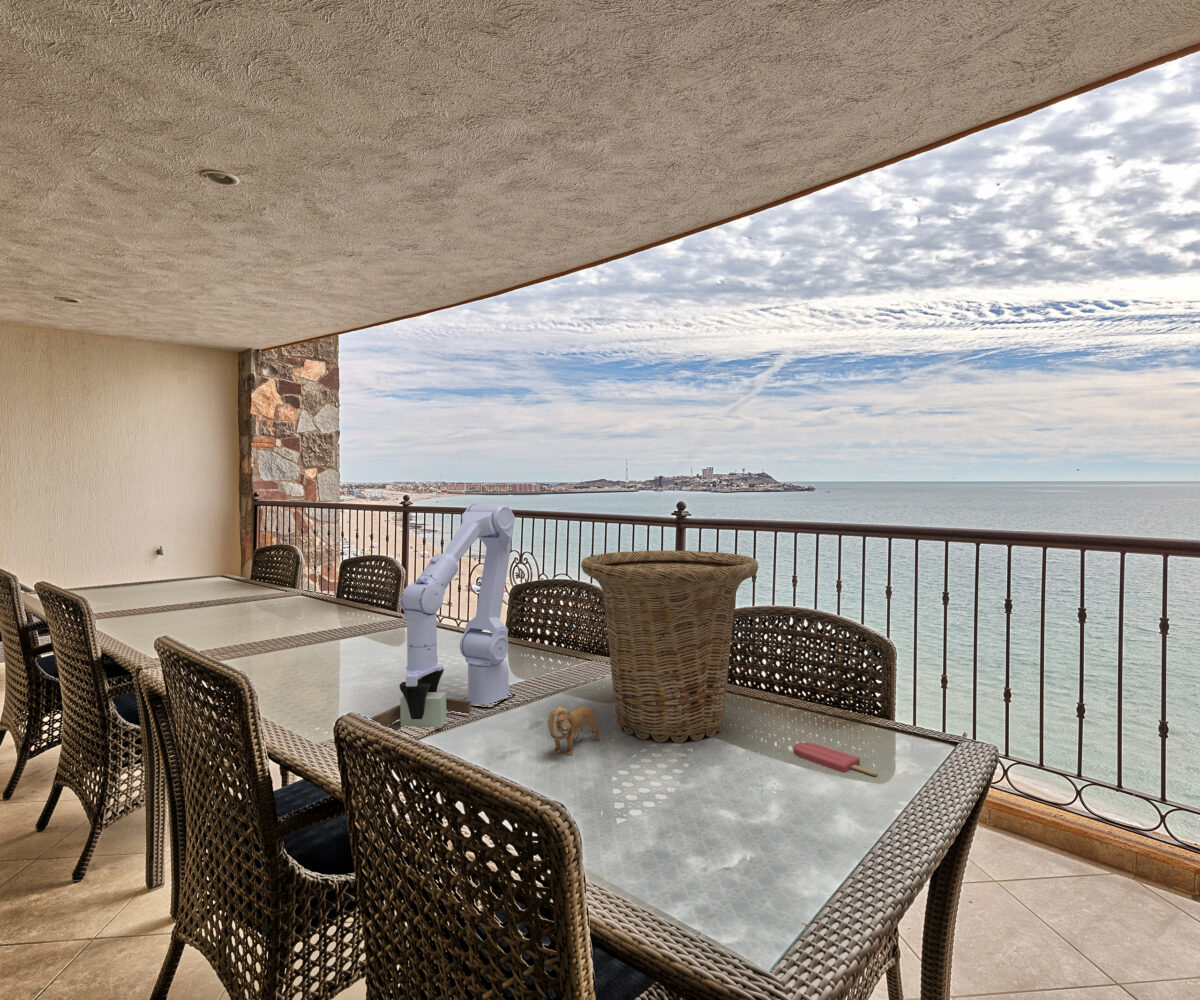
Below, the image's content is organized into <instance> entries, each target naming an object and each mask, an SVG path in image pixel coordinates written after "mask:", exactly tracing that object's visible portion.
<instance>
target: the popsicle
mask: <svg viewBox="0 0 1200 1000" xmlns="http://www.w3.org/2000/svg"><path fill="white" fill-rule="evenodd" d="M793 753H794V755H795V756H797V757H798V758H801V759H804V760H807V761H808V762H812V763H815V764H818V765H821V766H824V767H826V768H829V769H832V770H835V771H838V772H840V773H848V772H849V771H851V770H856V771H858V772H862V773H863V774H864V773H865V774H868V775H870V776H874V777H876V776H878V775H879V774H878V772H877V771H874V770H872V769H869V768H865V767H864V766H859V765H861V764H860V763H861V760H860V757H857V756H855V755H852V754H848V753H845V752H842V751H839V750H837V749H836V750H835V749H832V748H829V747H826V746H823V745H820V744H816V743H812V742H798V743H796V744H794V746H793Z"/></svg>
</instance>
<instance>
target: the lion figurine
mask: <svg viewBox="0 0 1200 1000" xmlns="http://www.w3.org/2000/svg"><path fill="white" fill-rule="evenodd" d="M594 715H595V714H594V712H593V709H592V708H591V707H590V706H587V705H586V706H585V705H583V706H579V707H577V708H576V709H575V710H573V711H571V712H570V711H569V710H568V709H566V708H564V707H563V706H558V707H557V706H556V707H555V708H553V709H552V710H550V713H549V714H548V715H547V716H548V717H547V719H548V720H547V728H548V733H549V734H550V736H551V738H553V740H554V745H555V748H554V749H553V750H552V752H553V754H556V753H557V754H559V753H560V752H561V747H562V746H561V741H564V740H565V739H566V744H567V745H566V746H567V747H566V752H565V753H566V755H567V756H573V755H574V749H573V743H574V742H575V743H576V742H577V743H578V742H579V741H580V739H581V737H582V735H583V732H584V730H583V728H584V725H586V726H587V727H588V728H589V729H590V731H591V733H592V734H594V736H593V737H592V741H597V742H598V741H599V740H600V729H599V727H598V726H597V725H596V722H595V721H596V720H595V716H594ZM575 733H576V736H574V734H575Z"/></svg>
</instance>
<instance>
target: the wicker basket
mask: <svg viewBox="0 0 1200 1000" xmlns="http://www.w3.org/2000/svg"><path fill="white" fill-rule="evenodd" d="M580 564H581V566H580V567H581V570H582V572H583V573H584V574H585V575H587V576H588V577H590V578H592V579H594V580H596V582H597V583H598V584H599V586H600V588H601V590H602V595H603V601H604V609H605V618H606V619H605V620H606V630H607V640H608V651H609V659H610V671H611V679H612V682H611V683H612V690H613V691H612V692H613V699H614V700H613V701H614V707H615V715H616V722H617V726H618V728H619V729H620V730H622V729H623V730H624V733H626V734H627V735H629V736H630V735H633V734H634V733H635V735H636V737H637V738H639V739H640V740H647V739H648V738H650V735H651V737H652V739H653V740H654V741H655V742H657V743H665V742H667V741H668V739H669V738H671V740H672V741H673V742H674V743H677V744H682V743H684V742H685V741H687V740H688V738H690V739H691V740H692V741H694V742H699V741H701V740H703V738H704V736H707V737H708V738H712V737H714V736H715V734H716V733H717V732H721V731H722V729H723V724H724V715H725V709H726V708H725V706H726V697H727V687H728V677H729V675H728V674H729V667H730V666H729V664H730V655H731V654H730V653H731V645H732V644H731V642H732V632H733V622H734V610H735V601H736V600H735V599H736V596H737V595H736V594H737V591H738V589H739V587H740V585H741V584H742V583H743V582H744V581H745V580H747V579H750V578H752V577H753V576H754V575H756V574H757V572H758V570H759V562H758V560H756V559H755V558H753V557H750V556H747V555H743V554H736V553H735V554H734V553H729V552H718V551H696V550H634V551H632V550H631V551H618V552H608V553H606V552H605V553H600V554H599V553H598V554H594V555H590V556H587V557H584V558H583V559H582V561H581V563H580Z"/></svg>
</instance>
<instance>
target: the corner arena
mask: <svg viewBox="0 0 1200 1000" xmlns="http://www.w3.org/2000/svg"><path fill="white" fill-rule="evenodd" d="M446 710H448V711H455V712H461V713H470V712H471V713H472V706H471V701H467V700H465V699H461V698H460V699H459V698H452V697H451V698H450V697H446ZM369 719H372V720H374V721H376V722H378V723H380V724H382V725H385V726H388V728H390V727H391V726H390V725H392V723H393V722H395V721H396V720H398V719H401V717H400V704H398V705H396V706H394V707H392V708H390V709H387V710H385V711H383V712H380V713H379V714H377V715H375V716H372V717H370V718H369ZM388 724H389V725H388ZM392 726H393V725H392ZM396 729H397V730H398V728H396ZM400 731H401V730H400ZM401 732H403V731H401ZM404 733H405V734H408V733H406V732H404ZM408 735H410V734H408ZM410 736H413V735H410ZM413 737H415V736H413ZM415 738H417V737H415ZM417 740H419V738H418V739H417Z"/></svg>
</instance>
